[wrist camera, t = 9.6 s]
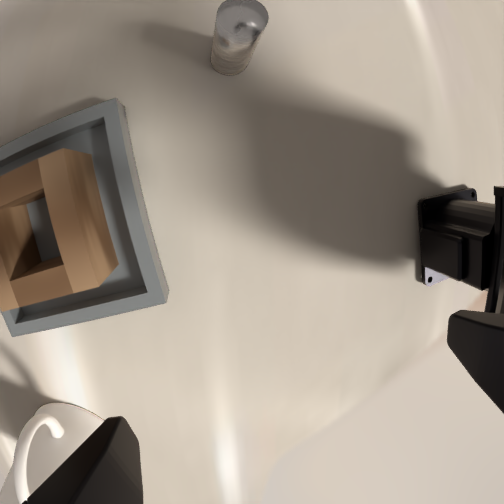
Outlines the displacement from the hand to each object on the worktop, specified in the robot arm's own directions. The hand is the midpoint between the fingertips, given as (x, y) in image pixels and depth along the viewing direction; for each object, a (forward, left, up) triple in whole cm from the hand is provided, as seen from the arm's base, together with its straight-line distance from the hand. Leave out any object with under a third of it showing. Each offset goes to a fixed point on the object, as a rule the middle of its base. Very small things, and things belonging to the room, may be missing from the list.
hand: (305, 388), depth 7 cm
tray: (+10, -5, -12) cm, 16 cm away
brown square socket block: (+10, -5, -11) cm, 16 cm away
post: (-2, -12, -12) cm, 17 cm away
